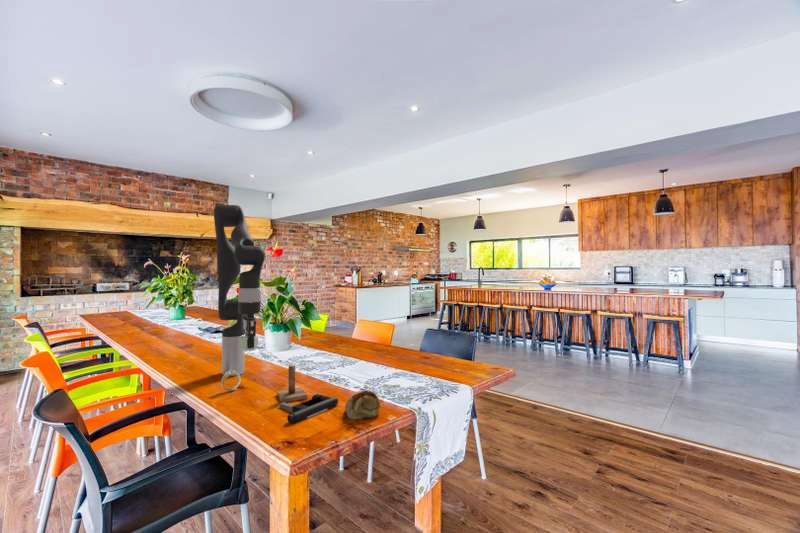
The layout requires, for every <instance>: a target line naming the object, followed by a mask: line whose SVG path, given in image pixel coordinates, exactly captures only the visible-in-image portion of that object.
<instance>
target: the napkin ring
mask: <svg viewBox="0 0 800 533" xmlns="http://www.w3.org/2000/svg"><path fill="white" fill-rule="evenodd" d="M241 349H242V350H244V351H250V350H256V349H259V337H258V335H256V336H255V337H254V348H248V347H247V336H245V335H244V337H241Z"/></svg>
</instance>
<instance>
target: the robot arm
mask: <svg viewBox="0 0 800 533" xmlns="http://www.w3.org/2000/svg"><path fill="white" fill-rule="evenodd" d="M213 220H214V221H213V222H214V230H215V231H214V232H215V238H216V268H217V280H218V282H217V283H218V284H217V285H218V300H217V303H218V304H217V312H218V313H217V314H218V317H219V320H220V321H236V322H235V323H234V324H232V325H231V326H227V327H224V328H223V329H222V331H221V375H222V376H224V374H226V372H228V371H229V370H231V371H234V370H235V372H237V373H238V374H239V375H243V374H245V350H242V349H241V337H244V336H247V347H248V348H254V337H255V336H257V334H256V333H257V331H256V330H257V328H256V327H257V318H255V314H260V313H261V308H262V307H261V305H262V304H261V300H262V299H261V297H262V296H261V274H262V269H263V265H264V262H265V258H266V251H265V249H264V248H263V247H262V246H259V245H255V242H254V240H253V238H252V236H251V234H250V231H249V229H248V224H247V220H246V217H245V214H244V210H243V208H242V207H241V206H240V205H237V204H216V205H215V206H214V208H213ZM225 228H233V230H232V231H231V234H230V240H231V241H230V240H229V238H228V237H227V235H226V232H225ZM231 242H232V243H231ZM232 244H233V245H232ZM242 266H252V267H251V269H250V270H246V271H242V272H241V267H242ZM238 279H239V280H238ZM236 280H238V283H239V284H238V285H239V286H238V287H239V289H238V294H237V295H238V299H236V298H235V299H231V298H230V299H228V298H227V296H228V293H229V291H230V289H231V287H232V286H233V284H234V283H235V282H236ZM226 376H227V375H226ZM233 376H234V377H235V376H236V375H234V374H232V375H230V376H229V377H233Z"/></svg>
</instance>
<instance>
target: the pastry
mask: <svg viewBox="0 0 800 533" xmlns="http://www.w3.org/2000/svg"><path fill="white" fill-rule="evenodd" d="M380 407H381V401H380V398H379V396H378V395H377V394H376V393H375V392H374V391H370V390H367V389H366V390H364V389H363V390H358V391H354V392H353V393H351V395H350V396H349V397H348V399H347V400H346V403H345V413H346V415H347V418H348V419H349V420H353V421H354V420H355V421H357V420H358V421H360V420H363V419H369V418H375V417H377V415H378V413H379V410H380Z"/></svg>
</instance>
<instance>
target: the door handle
mask: <svg viewBox="0 0 800 533" xmlns="http://www.w3.org/2000/svg"><path fill="white" fill-rule="evenodd" d="M338 403H339V398H337V397H336V396H327V395H322V394H318V393H316V394H314V395H313V396H311V399H309V400H308V399H307V401H303V402H300V403H298V404H290V403H289V402H286V403H284V402H283V403H282V402H281V403H279V408H281V409H283V410H285V411H288V412H290V414H288V415H287V417H286V419H287V422H288V424H292V423H293V424H294V423H297V422H300V421H302V420H304V419H310V418H312V417H314V416H317V415H319V414H321V413H323V412H325V411H328V410H329V409H331V408H333V407H336V406H337V405H338Z"/></svg>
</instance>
